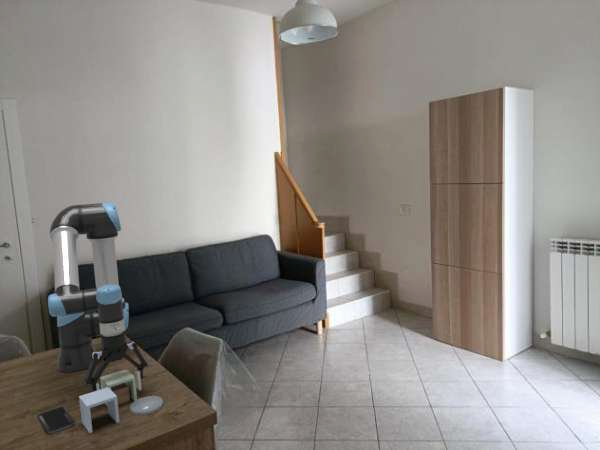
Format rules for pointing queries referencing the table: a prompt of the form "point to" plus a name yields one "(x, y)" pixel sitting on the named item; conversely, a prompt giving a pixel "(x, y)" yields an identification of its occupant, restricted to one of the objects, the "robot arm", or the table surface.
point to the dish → (146, 405)
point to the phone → (56, 420)
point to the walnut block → (121, 392)
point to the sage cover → (120, 378)
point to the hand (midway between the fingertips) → (119, 395)
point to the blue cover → (97, 399)
